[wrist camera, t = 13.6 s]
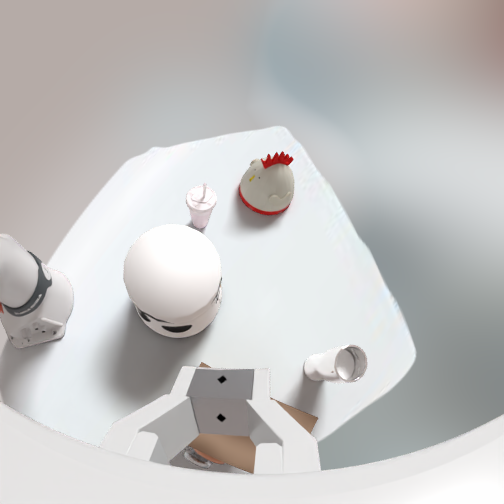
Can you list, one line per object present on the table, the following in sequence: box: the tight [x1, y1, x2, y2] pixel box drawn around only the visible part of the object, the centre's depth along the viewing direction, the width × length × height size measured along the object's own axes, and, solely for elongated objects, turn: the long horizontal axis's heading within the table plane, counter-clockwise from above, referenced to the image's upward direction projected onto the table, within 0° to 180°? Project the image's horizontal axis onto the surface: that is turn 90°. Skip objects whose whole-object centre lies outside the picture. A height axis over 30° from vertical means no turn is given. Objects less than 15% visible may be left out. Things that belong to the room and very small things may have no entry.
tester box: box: [188, 362, 318, 474], centre depth 38 cm, size 10×16×24 cm, turn 62°
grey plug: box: [184, 448, 212, 468], centre depth 40 cm, size 8×5×5 cm, turn 152°
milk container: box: [124, 224, 222, 338], centre depth 48 cm, size 17×17×18 cm
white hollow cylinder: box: [304, 345, 367, 384], centre depth 49 cm, size 7×7×15 cm
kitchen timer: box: [239, 151, 294, 215], centre depth 65 cm, size 14×14×15 cm
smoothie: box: [186, 183, 217, 228], centre depth 58 cm, size 6×6×14 cm
